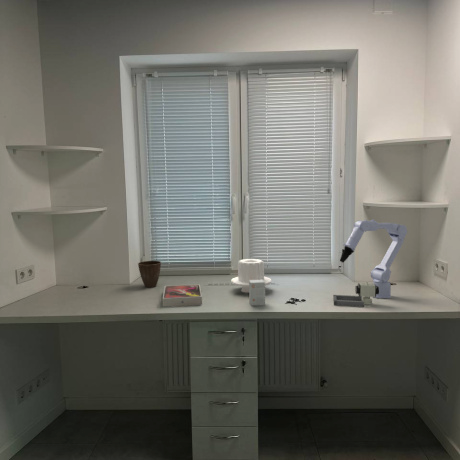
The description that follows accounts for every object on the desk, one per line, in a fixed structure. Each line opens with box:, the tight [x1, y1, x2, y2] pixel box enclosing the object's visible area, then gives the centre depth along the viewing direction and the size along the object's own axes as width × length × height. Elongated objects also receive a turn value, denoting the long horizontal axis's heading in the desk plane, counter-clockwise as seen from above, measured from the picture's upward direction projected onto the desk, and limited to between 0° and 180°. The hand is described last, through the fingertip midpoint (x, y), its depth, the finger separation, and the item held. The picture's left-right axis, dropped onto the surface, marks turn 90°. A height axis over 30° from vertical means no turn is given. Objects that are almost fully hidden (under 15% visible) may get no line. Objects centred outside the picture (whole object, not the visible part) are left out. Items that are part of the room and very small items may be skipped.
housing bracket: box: [332, 294, 365, 308], centre depth 213 cm, size 16×12×2 cm
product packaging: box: [162, 283, 203, 308], centre depth 227 cm, size 22×28×5 cm
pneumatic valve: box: [354, 282, 379, 306], centre depth 211 cm, size 6×12×12 cm, turn 81°
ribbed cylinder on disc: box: [230, 258, 272, 294], centre depth 241 cm, size 25×25×19 cm
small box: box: [248, 280, 266, 307], centre depth 213 cm, size 8×6×13 cm
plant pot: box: [137, 260, 162, 289], centre depth 255 cm, size 15×15×16 cm
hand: (342, 261), depth 213 cm, fingers open, 7 cm apart
